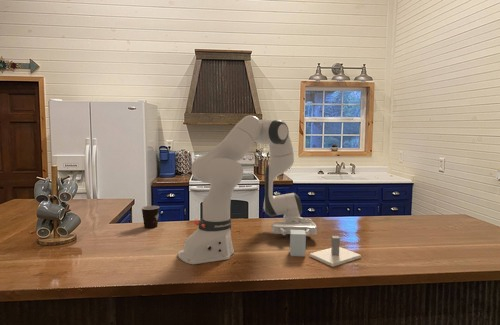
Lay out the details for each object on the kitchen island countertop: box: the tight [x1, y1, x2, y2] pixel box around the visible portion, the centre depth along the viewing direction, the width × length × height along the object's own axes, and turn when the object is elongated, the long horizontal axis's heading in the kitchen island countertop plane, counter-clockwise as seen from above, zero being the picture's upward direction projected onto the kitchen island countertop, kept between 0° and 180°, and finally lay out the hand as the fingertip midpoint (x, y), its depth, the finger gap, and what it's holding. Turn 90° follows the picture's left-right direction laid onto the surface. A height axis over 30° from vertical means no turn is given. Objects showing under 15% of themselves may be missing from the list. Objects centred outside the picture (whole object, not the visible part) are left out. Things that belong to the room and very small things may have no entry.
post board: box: [309, 235, 362, 267], centre depth 134 cm, size 16×12×8 cm
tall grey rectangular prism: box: [289, 230, 307, 257], centre depth 138 cm, size 6×6×9 cm
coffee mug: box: [141, 205, 160, 230], centre depth 175 cm, size 12×9×10 cm
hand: (295, 233), depth 148 cm, fingers open, 8 cm apart
